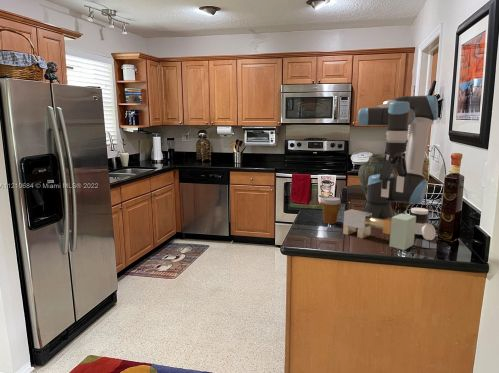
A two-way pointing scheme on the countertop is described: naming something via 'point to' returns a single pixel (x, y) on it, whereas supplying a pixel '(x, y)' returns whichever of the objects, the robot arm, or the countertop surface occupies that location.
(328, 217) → the disposable coffee cup
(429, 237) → the flanged pipe fitting
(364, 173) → the vase
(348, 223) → the white blocky legged figure
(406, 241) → the socket block
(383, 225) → the cylinder on square base
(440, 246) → the countertop surface
